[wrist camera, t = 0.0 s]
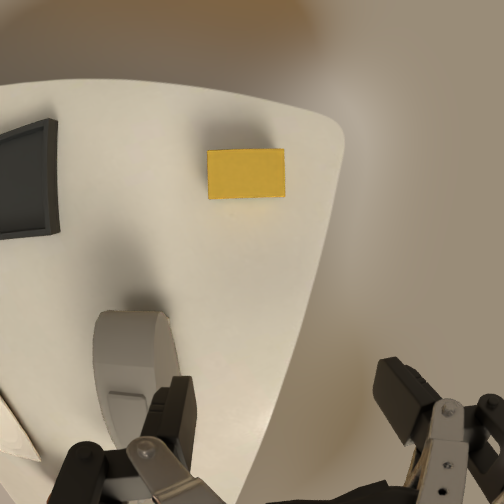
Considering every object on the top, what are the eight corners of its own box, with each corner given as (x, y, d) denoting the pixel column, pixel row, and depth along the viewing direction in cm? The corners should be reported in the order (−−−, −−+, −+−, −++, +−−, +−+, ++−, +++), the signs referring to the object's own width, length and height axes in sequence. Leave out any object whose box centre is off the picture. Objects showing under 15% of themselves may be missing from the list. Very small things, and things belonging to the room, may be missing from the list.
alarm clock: (121, 290, 32) (70, 341, 19) (171, 290, 32) (139, 347, 20) (153, 433, 37) (136, 497, 24) (193, 435, 37) (185, 503, 25)
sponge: (211, 198, 30) (208, 199, 27) (210, 155, 30) (207, 150, 26) (278, 196, 31) (285, 196, 27) (277, 153, 30) (284, 148, 26)
